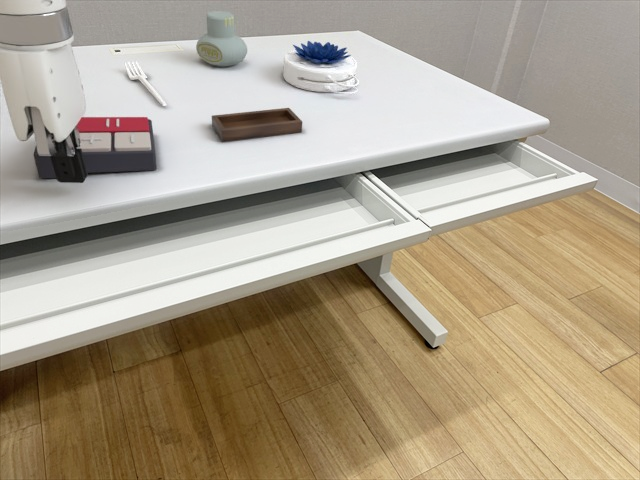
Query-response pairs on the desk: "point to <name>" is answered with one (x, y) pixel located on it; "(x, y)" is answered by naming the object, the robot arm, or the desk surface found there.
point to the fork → (143, 81)
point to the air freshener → (221, 41)
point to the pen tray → (256, 124)
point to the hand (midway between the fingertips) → (73, 179)
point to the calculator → (110, 146)
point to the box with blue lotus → (320, 68)
